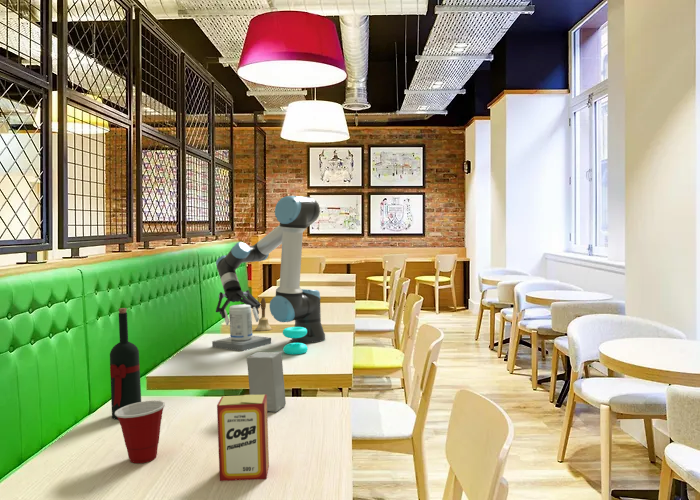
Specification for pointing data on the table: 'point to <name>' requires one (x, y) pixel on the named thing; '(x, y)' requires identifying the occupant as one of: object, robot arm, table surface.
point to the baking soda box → (243, 437)
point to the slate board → (241, 343)
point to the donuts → (295, 347)
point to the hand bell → (263, 318)
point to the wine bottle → (124, 369)
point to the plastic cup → (141, 429)
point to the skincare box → (267, 378)
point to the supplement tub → (240, 322)
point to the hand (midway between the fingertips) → (243, 321)
